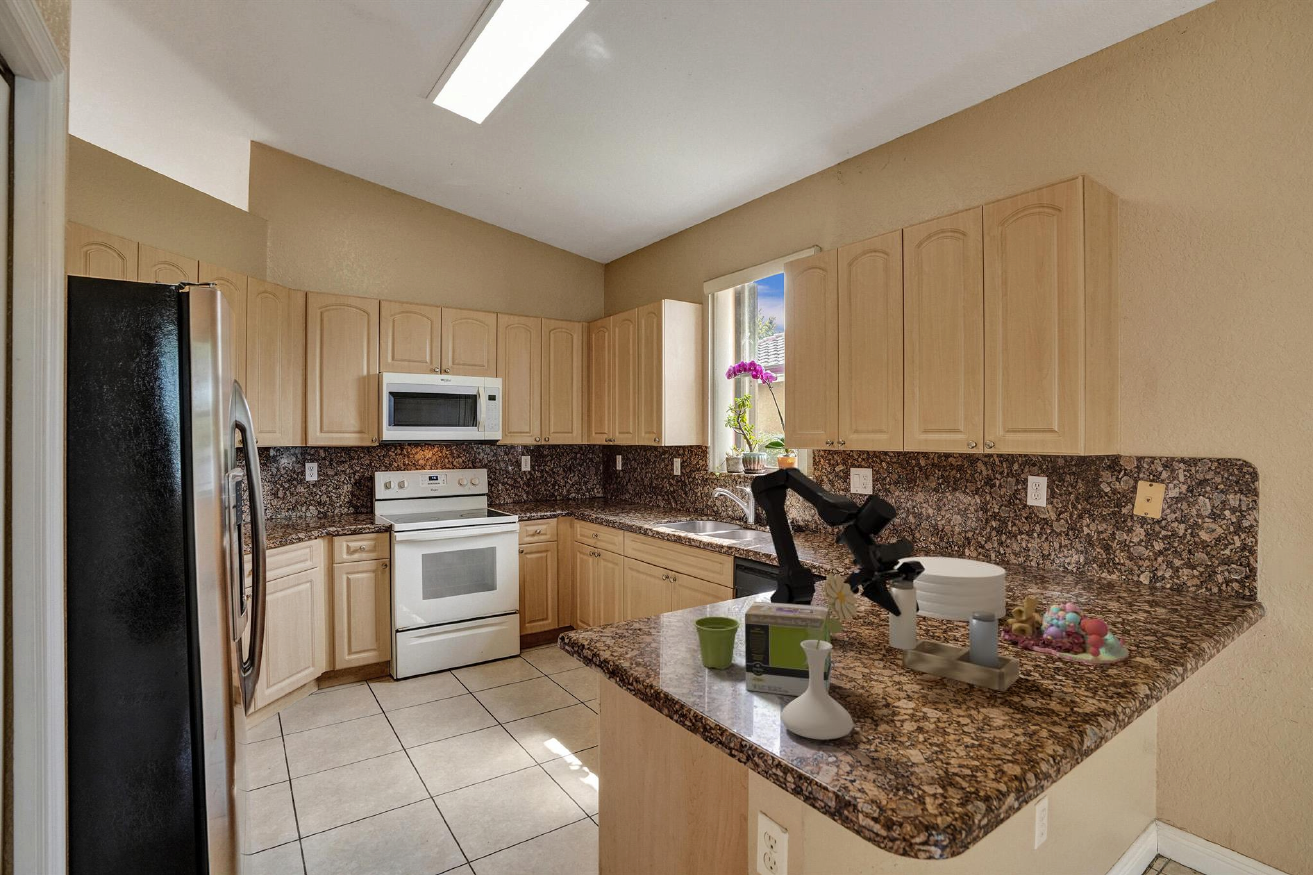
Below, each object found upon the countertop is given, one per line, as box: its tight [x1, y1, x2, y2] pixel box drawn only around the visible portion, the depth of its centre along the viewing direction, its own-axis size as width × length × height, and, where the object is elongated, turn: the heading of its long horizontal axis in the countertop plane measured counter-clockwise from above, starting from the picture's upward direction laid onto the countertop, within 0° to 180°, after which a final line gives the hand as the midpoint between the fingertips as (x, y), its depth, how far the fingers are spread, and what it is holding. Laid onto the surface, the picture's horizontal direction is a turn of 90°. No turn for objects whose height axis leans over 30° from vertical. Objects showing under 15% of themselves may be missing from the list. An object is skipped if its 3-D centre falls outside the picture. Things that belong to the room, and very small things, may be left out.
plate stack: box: [894, 556, 1007, 622], centre depth 179 cm, size 28×28×12 cm
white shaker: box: [888, 580, 917, 650], centre depth 127 cm, size 5×5×12 cm
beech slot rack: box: [902, 638, 1020, 693], centre depth 129 cm, size 19×10×4 cm, turn 46°
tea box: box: [744, 601, 832, 697], centre depth 122 cm, size 15×10×15 cm
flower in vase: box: [779, 572, 858, 740], centre depth 104 cm, size 13×11×25 cm
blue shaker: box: [968, 611, 999, 670], centre depth 126 cm, size 5×5×12 cm
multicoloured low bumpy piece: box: [1000, 595, 1130, 665], centre depth 147 cm, size 25×24×9 cm
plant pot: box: [693, 616, 740, 670], centre depth 134 cm, size 9×9×9 cm
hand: (908, 613), depth 126 cm, fingers closed on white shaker, 5 cm apart
